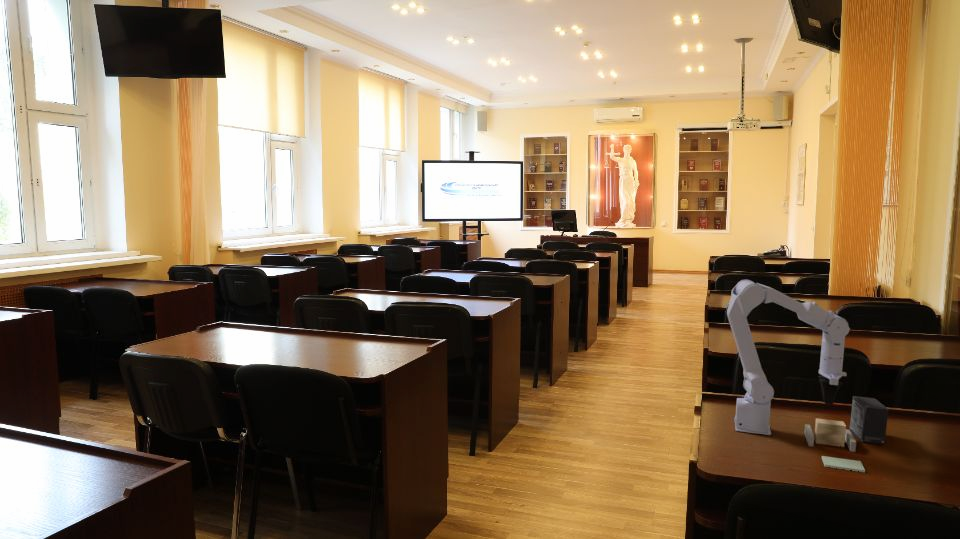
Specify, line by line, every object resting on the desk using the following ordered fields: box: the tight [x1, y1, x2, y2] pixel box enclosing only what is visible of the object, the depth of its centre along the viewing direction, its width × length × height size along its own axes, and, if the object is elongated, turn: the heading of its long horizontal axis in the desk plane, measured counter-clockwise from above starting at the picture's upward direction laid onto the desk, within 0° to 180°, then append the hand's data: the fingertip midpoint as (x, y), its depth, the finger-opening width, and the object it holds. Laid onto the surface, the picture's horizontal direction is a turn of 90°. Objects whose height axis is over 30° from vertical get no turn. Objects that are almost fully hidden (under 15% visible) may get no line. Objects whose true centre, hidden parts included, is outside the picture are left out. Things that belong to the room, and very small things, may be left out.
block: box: [813, 417, 847, 448], centre depth 185 cm, size 7×4×6 cm, turn 70°
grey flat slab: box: [804, 424, 857, 453], centre depth 185 cm, size 11×10×3 cm
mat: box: [821, 455, 866, 473], centre depth 170 cm, size 9×6×1 cm, turn 70°
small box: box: [848, 395, 889, 445], centre depth 189 cm, size 11×6×10 cm, turn 168°
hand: (827, 402), depth 191 cm, fingers closed
